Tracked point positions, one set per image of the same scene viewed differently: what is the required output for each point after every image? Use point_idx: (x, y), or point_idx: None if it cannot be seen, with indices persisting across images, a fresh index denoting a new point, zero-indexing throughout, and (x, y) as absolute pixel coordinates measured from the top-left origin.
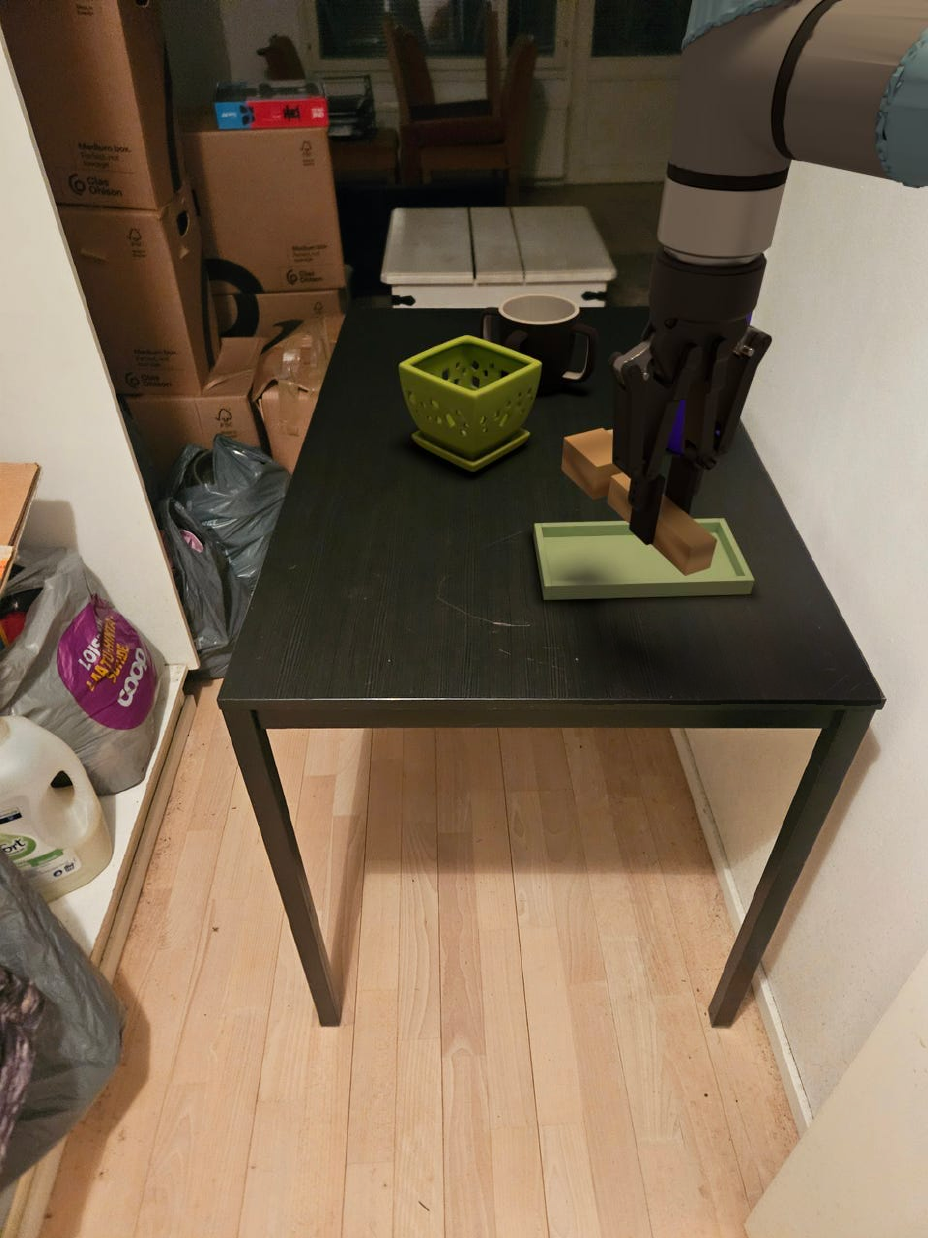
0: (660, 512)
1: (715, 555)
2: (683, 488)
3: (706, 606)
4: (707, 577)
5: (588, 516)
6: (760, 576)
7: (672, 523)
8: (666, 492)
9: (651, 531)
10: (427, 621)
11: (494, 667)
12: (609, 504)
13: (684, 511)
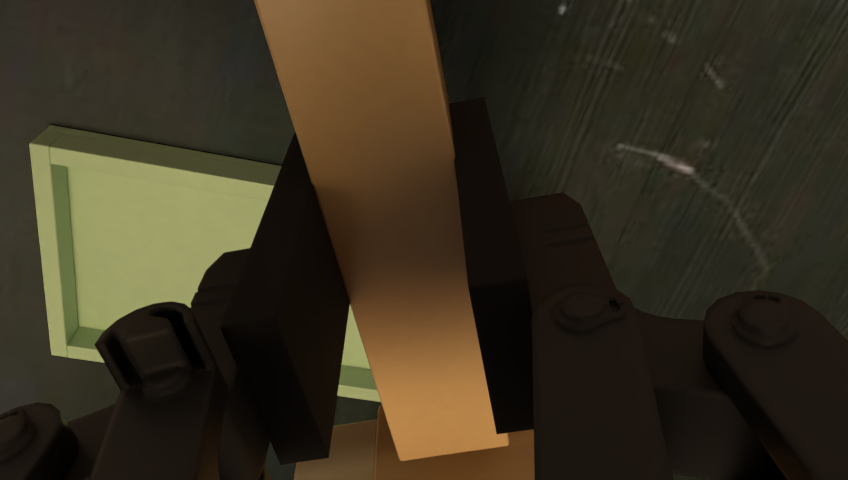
0: (425, 193)
1: (104, 259)
2: (306, 268)
3: (176, 109)
4: (152, 178)
5: (349, 422)
6: (8, 177)
7: (407, 100)
8: (345, 307)
9: (473, 126)
10: (825, 207)
11: (763, 31)
12: None
13: (305, 180)
